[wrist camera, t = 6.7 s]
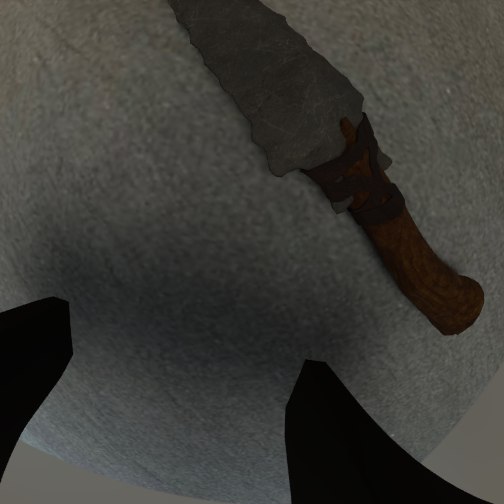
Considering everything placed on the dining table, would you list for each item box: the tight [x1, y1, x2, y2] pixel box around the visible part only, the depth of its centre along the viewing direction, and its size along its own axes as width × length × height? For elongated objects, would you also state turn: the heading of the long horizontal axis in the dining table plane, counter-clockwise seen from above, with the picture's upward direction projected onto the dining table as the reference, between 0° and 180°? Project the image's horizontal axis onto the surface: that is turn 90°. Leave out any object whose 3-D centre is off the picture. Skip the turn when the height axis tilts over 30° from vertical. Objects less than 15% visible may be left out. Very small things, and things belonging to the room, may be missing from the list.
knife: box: [168, 0, 484, 336], centre depth 7 cm, size 17×2×5 cm
